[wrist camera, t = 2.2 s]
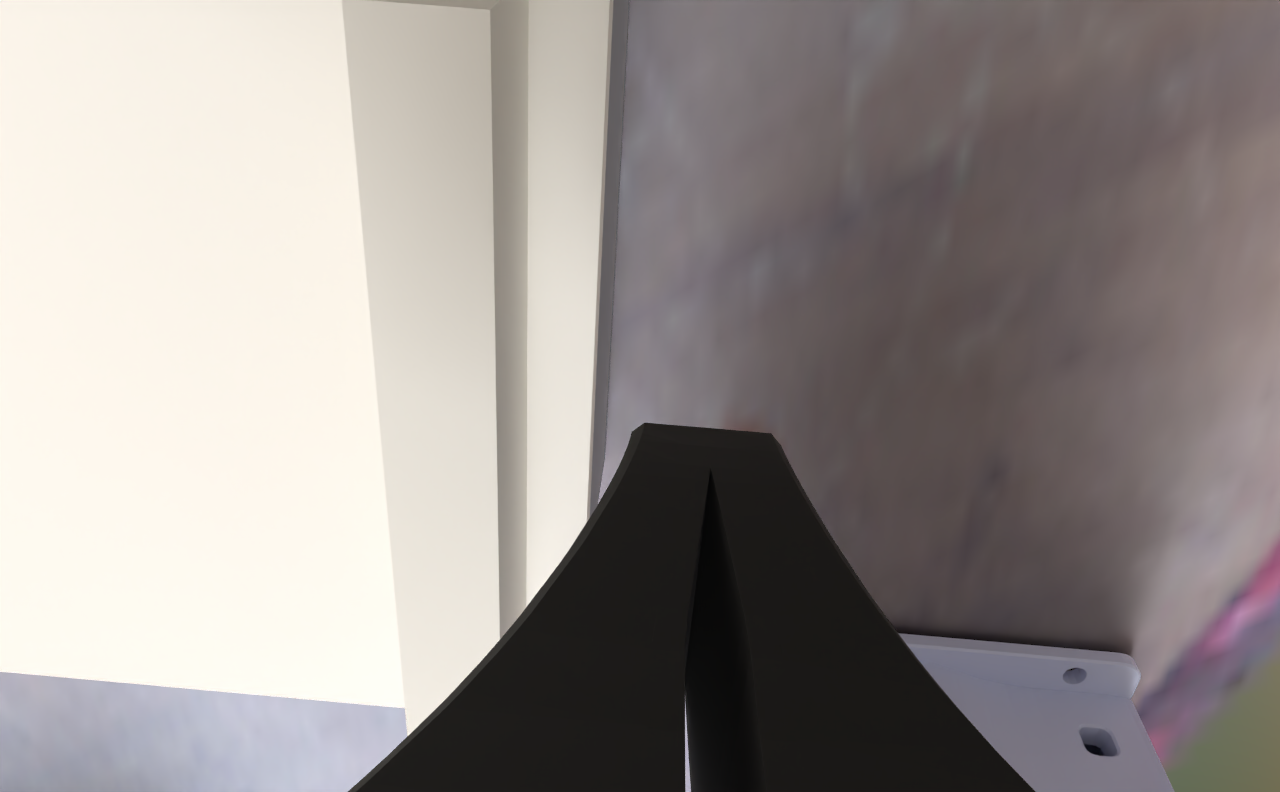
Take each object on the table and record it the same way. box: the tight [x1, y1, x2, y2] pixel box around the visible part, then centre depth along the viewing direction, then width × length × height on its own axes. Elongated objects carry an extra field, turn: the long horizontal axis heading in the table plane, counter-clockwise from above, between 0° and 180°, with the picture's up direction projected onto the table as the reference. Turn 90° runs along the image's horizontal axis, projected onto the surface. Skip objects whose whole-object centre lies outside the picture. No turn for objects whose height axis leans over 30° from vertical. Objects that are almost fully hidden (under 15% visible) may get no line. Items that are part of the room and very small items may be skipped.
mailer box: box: [590, 0, 630, 517], centre depth 15 cm, size 16×12×6 cm
